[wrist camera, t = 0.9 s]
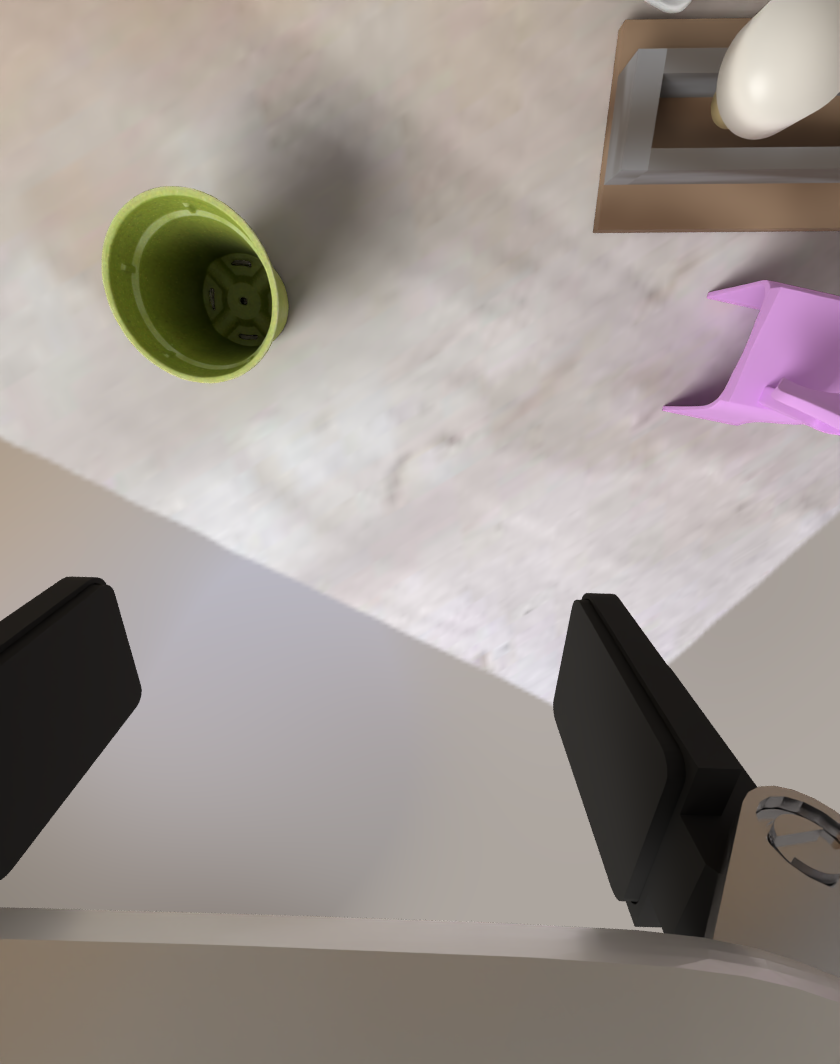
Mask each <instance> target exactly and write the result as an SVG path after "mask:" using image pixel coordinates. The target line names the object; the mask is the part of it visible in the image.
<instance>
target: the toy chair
mask: <svg viewBox="0 0 840 1064" xmlns="http://www.w3.org/2000/svg"><path fill="white" fill-rule="evenodd" d="M707 298H709V299H713V300H717V301H722V302H727V303H731V304H736V305H740V306H745V307H749V308H754V309H759V310H760V311H759V314H758V316H757V319H756V321H755V324H754V327H753V329H752V332H751V334H750V337H749V339H748V342H747V344H746V346H745V349H744V351H743V353H742V355H741V357H740V359H739V361H738V363H737V365H736V367H735V369H734V371H733V373H732V375H731V377H730V379H729V381H728V383H727V385H726V387H725V389H724V391H723V392H722V394H721V395H720V396H719V397H718V398H717V399H716V400H715V401H714V402H712V403H710V404H708V405H705V406H664V407H663V409H662V411H667V412H672V413H677V414H682V415H687V416H692V417H697V418H702V419H707V420H712V421H717V422H721V423H726V424H731V425H741V424H745V423H750V422H768V423H780V424H805V425H808V426H810V427H812V428H814V429H816V430H819V431H821V432H824V433H829V434H835V435H839V436H840V296H837V295H833V294H828V293H824V292H819V291H815V290H810V289H806V288H801V287H797V286H792V285H788V284H784V283H779V282H775V281H770V280H761V281H757V282H753V283H749V284H744V285H740V286H735V287H731V288H726V289H722V290H717V291H712V292H709V293H708V295H707Z"/></svg>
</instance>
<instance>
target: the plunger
mask: <svg viewBox="0 0 840 1064" xmlns="http://www.w3.org/2000/svg"><path fill="white" fill-rule="evenodd" d="M839 92H840V0H771V1H770V2H769V3H768V4H767V5H766V6H765V7H764V8H763V9H762V10H760V11H759V12H758V13H757V14H756V15H755V16H754V17H753V18H752V19H751V20H750V21H749V22H748V23H747V24H746V25H745V26H744V27H743V28H742V29H741V30H740V31H739V33H738V34H737V35H736V37H735V38H734V39H733V41H732V42H731V44H730V46H729V48H728V49H727V51H726V54H725V56H724V58H723V61H722V64H721V66H720V70H719V74H718V79H717V89H716V92H715V94H714V96H713V99H712V103H711V116H712V119H713V121H714V123H715V124H716V125H717V126H718V127H720V128H722V129H729V130H730V131H731V132H733V133H734V134H735V135H737V136H739V137H741V138H745V139H751V140H756V139H763V138H767V137H770V136H772V135H775V134H776V133H778V132H780V131H782V130H784V129H785V128H787V127H789V126H791V125H792V124H794V123H796V122H798V121H800V120H801V119H803V118H805V117H807V116H808V115H810V114H812V113H814V112H816V111H817V110H819V109H821V108H822V107H823V106H825V105H826V104H828V103H829V102H830V101H831V100H832V99H833V98H834V97H835V96H836V95H837V94H838V93H839Z"/></svg>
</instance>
